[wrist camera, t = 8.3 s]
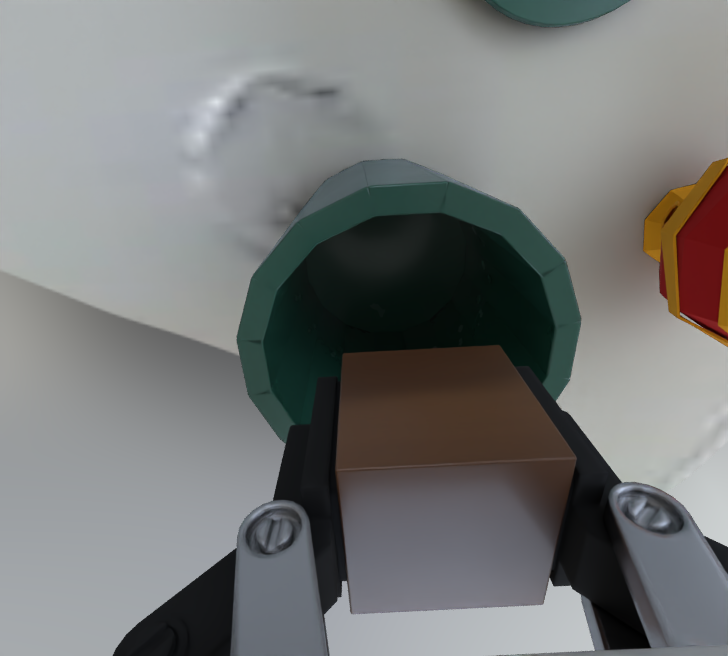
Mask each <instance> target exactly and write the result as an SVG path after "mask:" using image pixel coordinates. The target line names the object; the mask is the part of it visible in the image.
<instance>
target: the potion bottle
mask: <svg viewBox="0 0 728 656" xmlns="http://www.w3.org/2000/svg"><path fill="white" fill-rule="evenodd" d="M727 165H728V158H726V159H722V160H719V161H715V162H713V163H712V164H711V165H710V166H709V168H708V169H707V170H706V172H705V173H704V174H703V176H702V177H701V178H700V180H699V181H698V182H697V184H693V185H689V186H685V187H681V188H677V189H673V190H670V191H669V193H668V194H667V195H666V196H665V197H664V198H663V200H662V201H661V202H660V203H659V204H658V205H657V206H656V208H655V209H654V210H653V211H652V212H651V213H650V214H649V216H648V217H647V218H646V219H645V226H644V247H643V251H644V252H645V253H647V254H648V255H649V256H651V257H652V258H654V259H655V260H656V261H658V262H659V263H660V269H659V281H660V293H661V294H662V295H663V296H664V297H665V298H666V299H667V300H668V309H669V312H670V313H671V314H673V315H674V316H675V317H677V318H678V319H680V320H682V321H684V322H686V323H688V324H690V325H692V326H694V327H695V328H697V329H699V330H700V331H702V332H704V333H705V334H707V335H709V336H710V337H712V338H714V339H715V340H717V341H719V342H720V343H722V344H724V345H725V346H727V347H728V166H727ZM680 312H681V313H683V314H684V315H686V316H687V317H688V318H690V319H691V320H693V321H694V322H696V323H697V324H699V325H700V326H702V327H703V328H702V327H700V326H698V325H696V324H694V323H692V322H690V321H689V320H687V319H685V318H684V317H682V316H680Z"/></svg>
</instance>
